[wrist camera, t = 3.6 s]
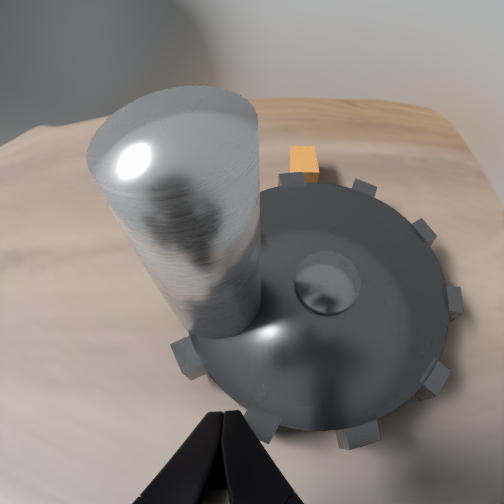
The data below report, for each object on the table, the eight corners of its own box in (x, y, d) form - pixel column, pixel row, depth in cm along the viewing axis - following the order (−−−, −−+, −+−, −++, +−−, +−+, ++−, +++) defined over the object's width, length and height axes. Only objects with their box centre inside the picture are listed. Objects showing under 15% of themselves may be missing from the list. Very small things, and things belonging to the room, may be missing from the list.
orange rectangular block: (316, 191, 21) (319, 172, 19) (292, 191, 21) (294, 172, 19) (311, 165, 22) (314, 146, 21) (289, 165, 22) (290, 146, 21)
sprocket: (479, 292, 15) (589, 168, 6) (331, 505, 10) (458, 607, 1) (300, 161, 21) (312, 11, 12) (124, 299, 16) (10, 146, 7)
